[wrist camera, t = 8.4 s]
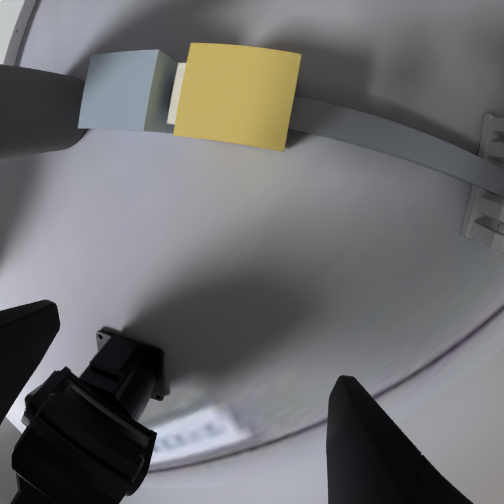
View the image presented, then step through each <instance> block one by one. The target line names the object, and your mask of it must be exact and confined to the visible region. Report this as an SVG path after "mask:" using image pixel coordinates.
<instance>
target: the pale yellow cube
mask: <svg viewBox="0 0 504 504" xmlns="http://www.w3.org/2000/svg"><path fill="white" fill-rule="evenodd" d="M300 61H301V54H298V53H292V52H287V51H280V50H274V49H267V48H259V47H250V46H240V45H229V44H213V43H191V45H190V49H189V54H188V58H187V63H186V67H185V72H184V77H183V82H182V87H181V92H180V97H179V103H178V108H177V114H176V120H175V126H174V133H173V135H174V136H184V137H193V138H201V139H209V140H216V141H223V142H230V143H237V144H243V145H249V146H255V147H261V148H266V149H272V150H277V151H282V152H284V150H285V144H286V139H287V133H288V128H289V122H290V117H291V111H292V106H293V101H294V95H295V91H296V85H297V80H298V73H299V67H300Z"/></svg>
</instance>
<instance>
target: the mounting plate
mask: <svg viewBox="0 0 504 504" xmlns="http://www.w3.org/2000/svg"><path fill="white" fill-rule="evenodd" d="M35 2H36V0H0V64H2V65H10V66H14V65H15V61H16V58H17V54H18V51H19V47H20V44H21V41H22V38H23V35H24V32H25V29H26V26H27V23H28V20H29V18H30V15H31V12H32V10H33V7H34V5H35Z"/></svg>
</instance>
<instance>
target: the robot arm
mask: <svg viewBox="0 0 504 504" xmlns="http://www.w3.org/2000/svg"><path fill="white" fill-rule="evenodd" d="M59 329H60V320H59V314H58V309H57V305H56V304H55V303H54V302H52V301H49V300H41V301H37V302H33V303H29V304H25V305H21V306H18V307H14V308H10V309H6V310H2V311H0V425H1V423H2V421H3V419H4V418H5V416H6V414H7V413H8V411H9V410H10V408H11V406H12V405H13V403H14V401H15V400H16V398H17V397H18V395H19V394H20V392H21V391H22V389H23V387H24V386H25V384H26V383H27V381H28V380H29V378H30V377H31V376H32V374H33V373H34V371H35V370H36V368H37V367H38V365H39V364H40V362H41V360H42V359H43V357H44V355H45V353H46V352H47V350H48V348H49V346H50V345H51V343H52V341H53V339H54V338H55V336H56V334H57V333H58V331H59ZM101 335H102V336H101ZM96 339H97V345H98V353H97V354H96V355H95V356H94V357H93V359H92V360H91V361H90V364H89V366H88V367H87V368H86V369H85V371H84V372H83V373H82V374H81V376H80V377H79V378H78V377H77V376H75V375H74V374H73V373H72V372H71V370H70V369H69V368H68V367H67V366H65V367H64V368H63V369H62V370H61V371H59V370H58V371H54V372H53V373H52V374H51V376H50V377H49V378H48V379H47V380H46V381H45V382H44V383H43V384H42V385H40V386H39V387H37V388H36V389H35V390H33V391H32V392H30V393H29V394H28V395H27V396H26V397H25V406H26V408H25V411H24V415H23V417H22V420H21V422H22V423H23V424H24V425H25V426H27V427H26V429H25V431H24V432H23V434H22V435H21V437H20V439H19V440H18V442H17V443H16V445H15V447H14V452H13V454H12V470H13V471H14V472H16V477H17V485H18V492H17V494H16V495H15V497H14V499H13V501H12V502H11V504H119V503H120V502H121V500H122V499H123V497H124V496H125V495H126V496H131V495H132V494H133V493H134V492H135V491H136V490H137V489H138V488H139V486H140V485H141V483H142V482H143V480H144V478H145V476H146V474H147V472H148V469H149V465H150V461H151V457H152V452H153V448H154V444H155V440H156V436H157V433H156V432H154V431H153V430H149V429H148V428H146V427H144V426H143V425H141V424H140V423H138V421H139V419H140V417H141V415H142V413H143V411H144V409H145V407H146V405H147V403H148V401H149V399H150V398H152V399H155V400H159V401H162V400H163V398H164V352H163V351H162V350H161V349H159V348H156V347H153V346H149V345H146V344H143V343H140V342H136V341H133V340H130V339H127V338H124V337H121V336H118V335H115V334H112V333H109V332H106V331H104V330H99V331H98V332H97V333H96ZM156 353H157V354H156ZM158 354H159V355H158ZM326 454H327V474H328V504H473V503H472V502H471V501H470V500H469V499H467V498H466V497H465V496H464V495H463V494H462V493H461V492H460V491H458V490H457V489H456V488H455V487H454V486H453V485H452V484H451V483H450V482H449V481H447V480H446V479H445V478H444V477H443V476H442V475H441V474H440V473H439V472H438V471H437V470H436V469H435V467H434V466H433V465H432V464H431V463H430V462H429V461H428V460H427V459H426V458H425V456H424V455H421V452H420V451H419V450H418V449H417V448H416V446H415V445H414V444H413V443H412V442H411V441H410V440H409V439H408V437H407V436H406V435H405V434H404V433H403V432H402V431H401V429H400V428H399V427H398V426H397V425H396V424H395V423H394V422H393V420H392V419H391V418H390V417H389V416H388V415H387V414H386V412H385V411H384V410H383V409H382V408H381V407H380V406H379V405H378V403H377V402H376V401H375V400H374V399H373V398H372V397H371V395H370V394H369V393H368V392H367V391H366V390H365V389H364V387H363V386H362V385H361V384H360V383H359V382H358V381H357V380H356V378H355V377H353V376H346V375H341V376H340V377H339V378H338V379H337V381H336V384H335V386H334V388H333V390H332V392H331V394H330V397H329V404H328V423H327V439H326Z"/></svg>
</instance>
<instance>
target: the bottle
mask: <svg viewBox="0 0 504 504" xmlns="http://www.w3.org/2000/svg"><path fill="white" fill-rule="evenodd" d="M84 86H85V83H84V82H83V81H82V80H80V79H78V78H74V77H71V76H67V75H62V74H57V73H52V72H47V71H42V70H36V69H30V68H24V67H17V66H10V65H2V64H0V159H4V158H10V157H16V156H22V155H29V154H35V153H43V152H50V151H58V150H64V149H67V148H69V147H71V146H73V145H74V144H75V143H77V142H78V141H79V139H80V138H81V137H82V136H83V134H84V132H85V131H86V129H87V128H78V124H79V116H80V109H81V103H82V97H83V92H84Z"/></svg>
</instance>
